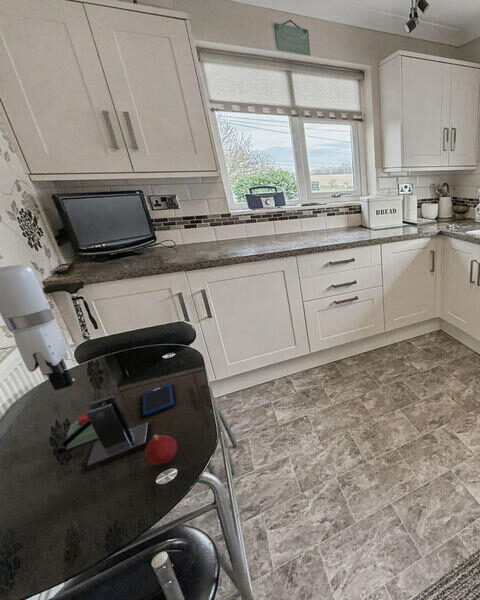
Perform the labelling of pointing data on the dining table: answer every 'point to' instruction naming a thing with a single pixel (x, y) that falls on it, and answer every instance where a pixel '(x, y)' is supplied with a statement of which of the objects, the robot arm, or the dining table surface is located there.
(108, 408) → the lever bracket
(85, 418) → the red button
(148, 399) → the cell phone
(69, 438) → the press lever
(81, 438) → the button housing
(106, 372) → the dining table surface
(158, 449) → the onion
